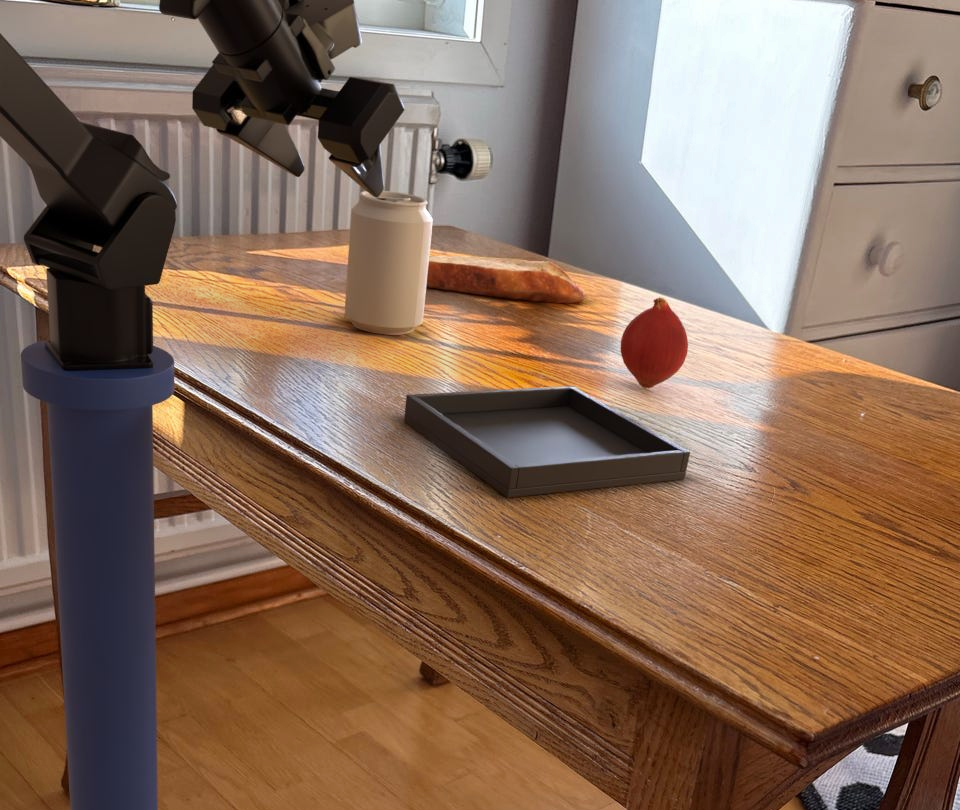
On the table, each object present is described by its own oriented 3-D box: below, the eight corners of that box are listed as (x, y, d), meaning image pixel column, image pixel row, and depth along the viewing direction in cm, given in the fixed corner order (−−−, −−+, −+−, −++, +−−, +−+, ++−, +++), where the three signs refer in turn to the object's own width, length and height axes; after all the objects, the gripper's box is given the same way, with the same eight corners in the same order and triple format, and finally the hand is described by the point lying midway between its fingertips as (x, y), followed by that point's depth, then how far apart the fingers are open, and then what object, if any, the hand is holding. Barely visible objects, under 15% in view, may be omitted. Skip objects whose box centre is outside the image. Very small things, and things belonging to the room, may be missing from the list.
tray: (507, 498, 77) (511, 468, 76) (403, 421, 88) (406, 394, 87) (684, 479, 85) (690, 451, 84) (568, 410, 96) (572, 385, 95)
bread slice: (375, 274, 131) (378, 240, 130) (488, 266, 143) (492, 234, 141) (487, 315, 121) (492, 279, 119) (599, 303, 133) (604, 269, 131)
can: (378, 312, 117) (388, 185, 111) (437, 330, 113) (451, 200, 107) (327, 321, 111) (335, 188, 105) (388, 341, 108) (399, 204, 102)
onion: (641, 374, 108) (658, 287, 104) (691, 393, 105) (710, 303, 101) (601, 382, 104) (617, 291, 101) (651, 401, 101) (670, 308, 97)
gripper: (401, -40, 84) (474, 130, 97) (223, -62, 93) (312, 96, 106) (316, 75, 81) (402, 233, 95) (142, 41, 91) (243, 189, 104)
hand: (339, 182), depth 100 cm, fingers open, 9 cm apart
